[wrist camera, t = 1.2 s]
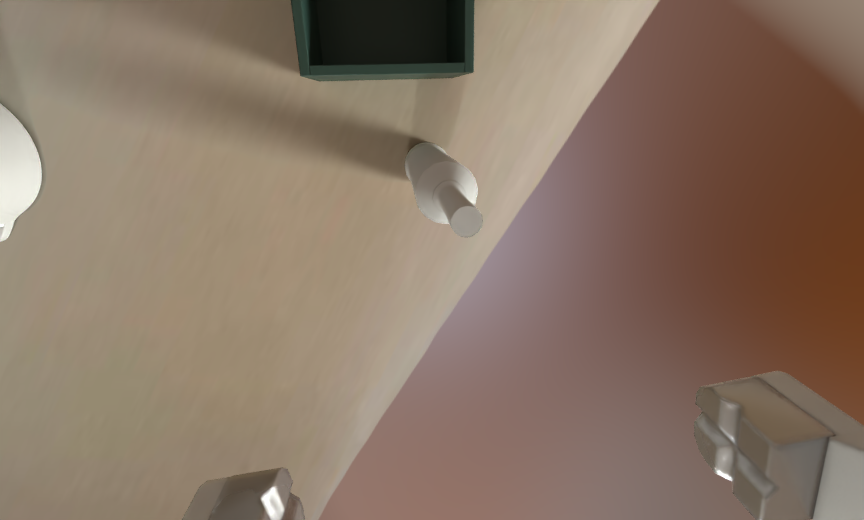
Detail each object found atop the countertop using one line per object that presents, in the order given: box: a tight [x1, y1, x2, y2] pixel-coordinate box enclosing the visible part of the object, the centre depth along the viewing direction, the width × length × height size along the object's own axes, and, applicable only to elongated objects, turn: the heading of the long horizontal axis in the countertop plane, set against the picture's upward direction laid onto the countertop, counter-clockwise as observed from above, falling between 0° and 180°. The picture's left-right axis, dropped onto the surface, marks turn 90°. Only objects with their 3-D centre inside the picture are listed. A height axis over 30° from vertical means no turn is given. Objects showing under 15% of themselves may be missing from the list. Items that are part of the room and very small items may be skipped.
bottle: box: [405, 142, 483, 237], centre depth 38 cm, size 5×5×25 cm
